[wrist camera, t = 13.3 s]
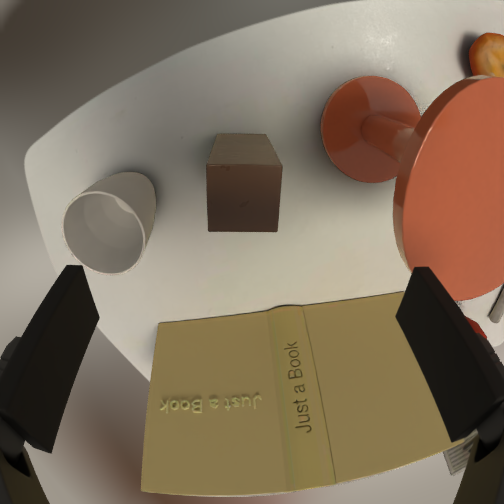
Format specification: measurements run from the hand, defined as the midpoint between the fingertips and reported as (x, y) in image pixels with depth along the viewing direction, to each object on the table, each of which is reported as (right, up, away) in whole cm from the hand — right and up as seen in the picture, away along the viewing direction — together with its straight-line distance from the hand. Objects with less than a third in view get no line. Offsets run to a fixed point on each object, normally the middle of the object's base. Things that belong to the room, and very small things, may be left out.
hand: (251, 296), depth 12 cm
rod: (+48, -6, +33) cm, 59 cm away
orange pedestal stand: (+13, +15, +18) cm, 27 cm away
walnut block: (-1, +11, +20) cm, 23 cm away
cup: (-13, +8, +21) cm, 26 cm away
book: (+5, -9, +33) cm, 34 cm away
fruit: (+28, +25, +13) cm, 40 cm away
